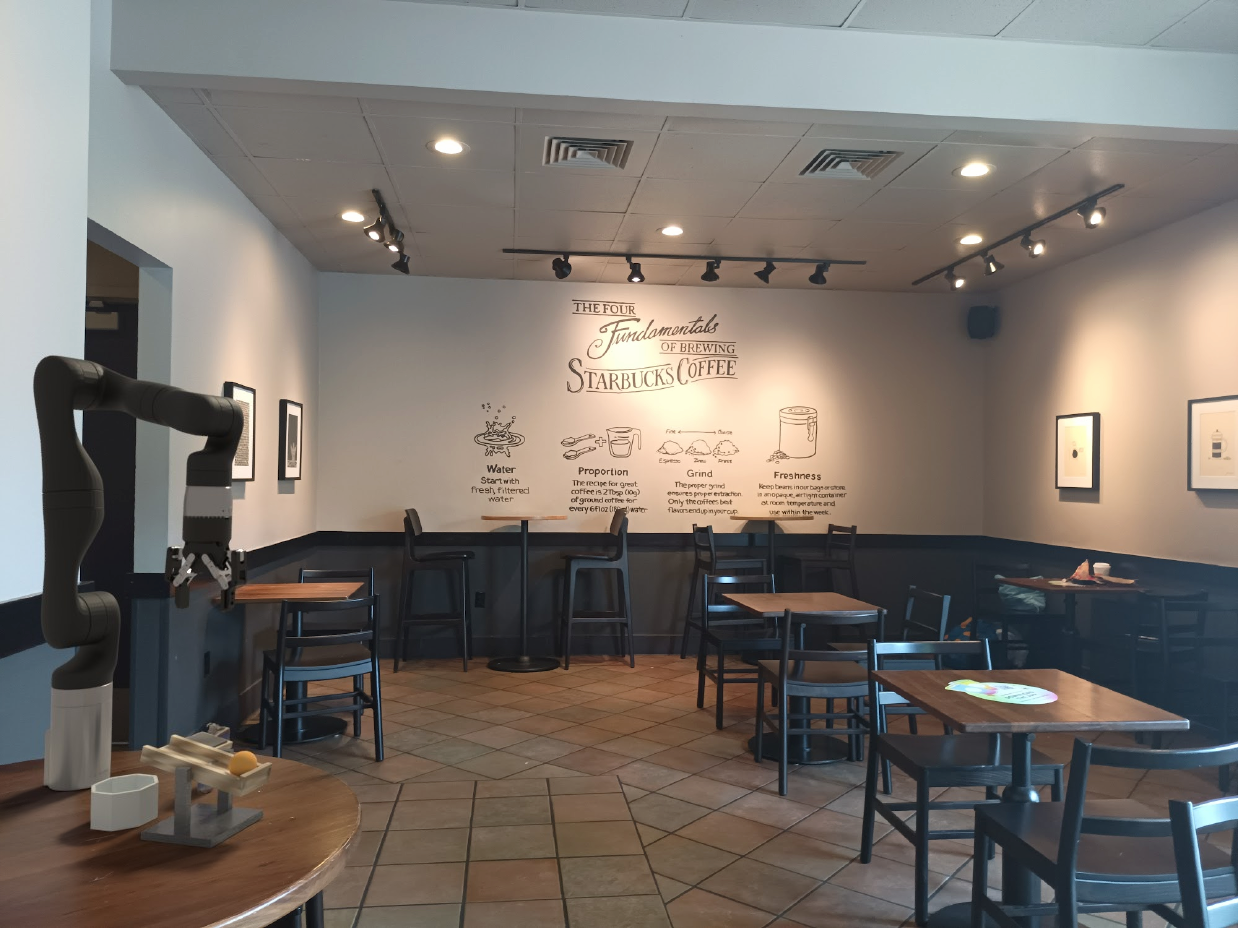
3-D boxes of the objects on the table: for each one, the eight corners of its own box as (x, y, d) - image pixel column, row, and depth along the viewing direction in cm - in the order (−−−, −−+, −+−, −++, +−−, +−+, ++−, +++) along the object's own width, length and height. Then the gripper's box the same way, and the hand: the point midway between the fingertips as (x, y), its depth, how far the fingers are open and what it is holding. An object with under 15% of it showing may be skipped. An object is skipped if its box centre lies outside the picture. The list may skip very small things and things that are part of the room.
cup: (76, 827, 132) (77, 790, 132) (122, 805, 141) (123, 772, 141) (125, 832, 130) (126, 796, 130) (170, 811, 139) (170, 776, 139)
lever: (137, 763, 131) (141, 743, 130) (200, 737, 144) (204, 719, 144) (238, 798, 126) (242, 778, 126) (293, 769, 140) (297, 750, 140)
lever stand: (140, 839, 127) (142, 767, 128) (197, 810, 139) (199, 744, 139) (210, 847, 125) (212, 774, 125) (263, 817, 136) (264, 749, 137)
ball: (220, 777, 129) (225, 752, 129) (237, 769, 133) (242, 744, 133) (243, 785, 128) (248, 759, 128) (259, 777, 132) (265, 751, 132)
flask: (209, 793, 147) (210, 730, 147) (191, 794, 146) (192, 730, 147) (231, 776, 156) (232, 716, 156) (215, 776, 156) (216, 716, 156)
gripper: (155, 512, 143) (151, 610, 143) (229, 515, 140) (226, 615, 139) (187, 511, 150) (184, 604, 150) (259, 514, 147) (255, 609, 147)
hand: (204, 609), depth 145 cm, fingers open, 8 cm apart
